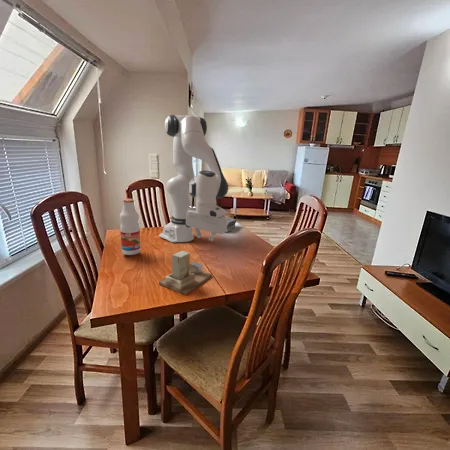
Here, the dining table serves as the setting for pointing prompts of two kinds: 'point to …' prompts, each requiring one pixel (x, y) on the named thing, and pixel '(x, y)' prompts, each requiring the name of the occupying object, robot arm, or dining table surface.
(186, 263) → the skincare box
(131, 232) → the fruit juice
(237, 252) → the dining table surface
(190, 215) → the robot arm
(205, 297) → the dining table surface
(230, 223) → the towel
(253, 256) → the dining table surface
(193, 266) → the block
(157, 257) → the dining table surface
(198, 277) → the base
